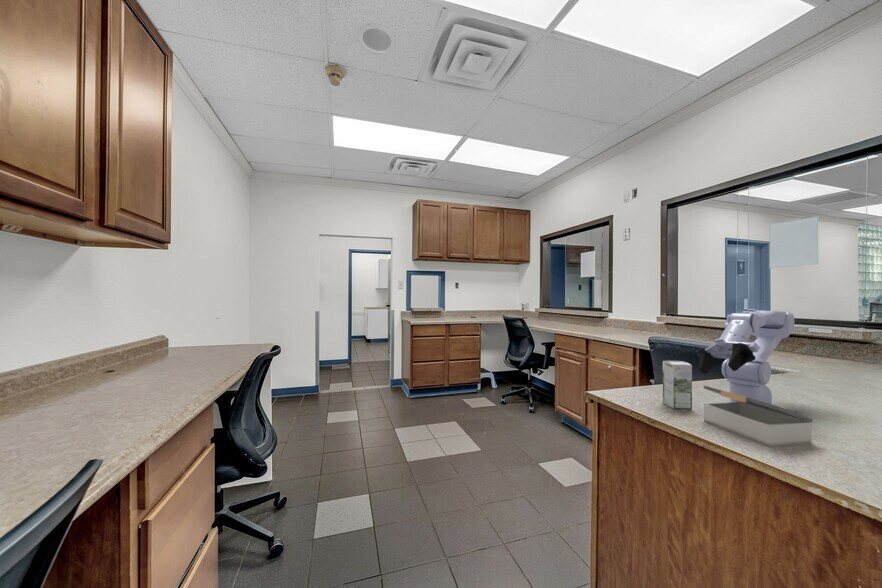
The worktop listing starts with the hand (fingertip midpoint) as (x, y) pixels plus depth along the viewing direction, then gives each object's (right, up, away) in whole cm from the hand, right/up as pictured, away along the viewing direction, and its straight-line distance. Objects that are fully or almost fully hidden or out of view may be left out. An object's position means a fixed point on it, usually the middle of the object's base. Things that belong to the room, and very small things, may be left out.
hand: (716, 369), depth 87 cm
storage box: (+6, -15, -4) cm, 17 cm away
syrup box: (0, -16, +15) cm, 22 cm away
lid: (+6, -8, -4) cm, 11 cm away
